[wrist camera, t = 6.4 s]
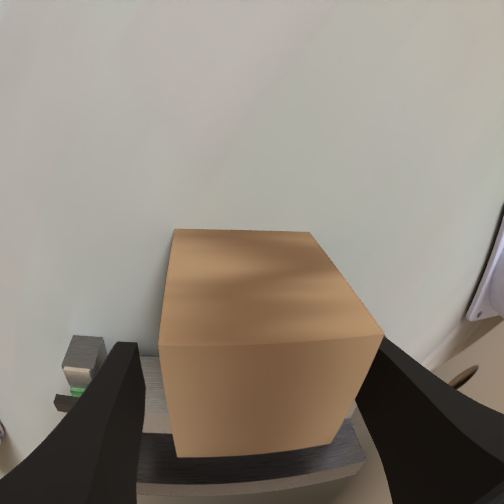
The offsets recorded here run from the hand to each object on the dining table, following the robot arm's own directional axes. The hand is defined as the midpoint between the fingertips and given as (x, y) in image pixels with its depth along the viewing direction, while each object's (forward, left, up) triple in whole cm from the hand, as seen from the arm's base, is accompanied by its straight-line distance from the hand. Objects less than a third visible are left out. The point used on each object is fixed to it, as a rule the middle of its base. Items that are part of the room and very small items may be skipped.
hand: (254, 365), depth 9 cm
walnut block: (0, 0, -4) cm, 4 cm away
